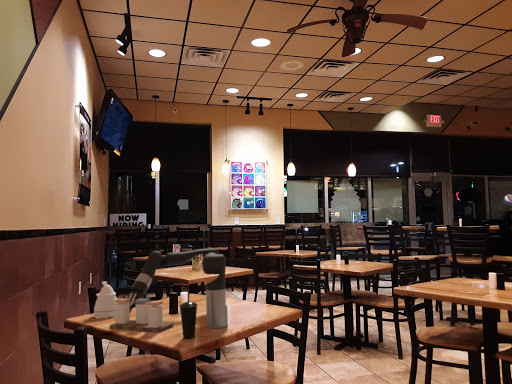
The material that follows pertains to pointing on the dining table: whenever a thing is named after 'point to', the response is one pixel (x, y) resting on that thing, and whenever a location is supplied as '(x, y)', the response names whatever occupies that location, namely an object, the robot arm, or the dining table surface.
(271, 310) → the dining table surface
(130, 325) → the wooden serving board
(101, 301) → the honey pot
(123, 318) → the white spice jar
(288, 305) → the dining table surface
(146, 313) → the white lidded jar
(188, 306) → the drinking cup
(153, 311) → the white lidded canister
